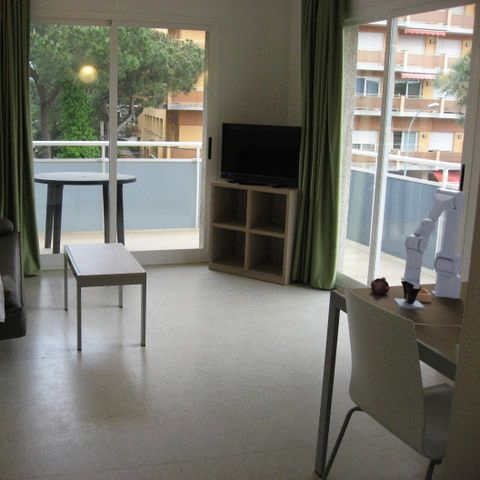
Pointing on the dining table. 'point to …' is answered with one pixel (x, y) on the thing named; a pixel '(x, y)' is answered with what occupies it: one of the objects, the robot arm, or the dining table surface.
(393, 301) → the mat
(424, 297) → the orange open box
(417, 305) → the lid
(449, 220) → the robot arm
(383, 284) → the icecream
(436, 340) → the dining table surface
